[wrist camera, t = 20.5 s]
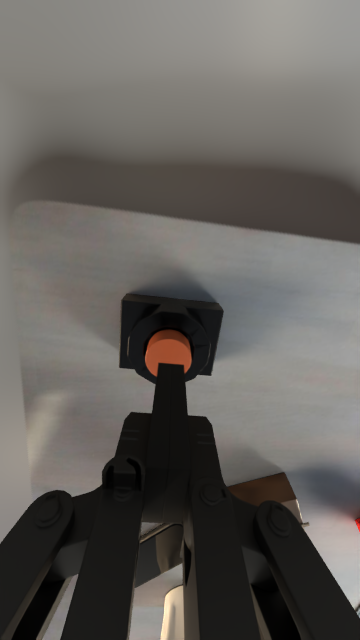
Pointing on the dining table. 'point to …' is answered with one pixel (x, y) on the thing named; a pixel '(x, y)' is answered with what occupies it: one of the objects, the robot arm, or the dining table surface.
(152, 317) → the button block
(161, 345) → the button
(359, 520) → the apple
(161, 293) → the dining table surface
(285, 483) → the base
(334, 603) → the robot arm
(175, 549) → the smartphone
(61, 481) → the dining table surface
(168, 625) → the cup
